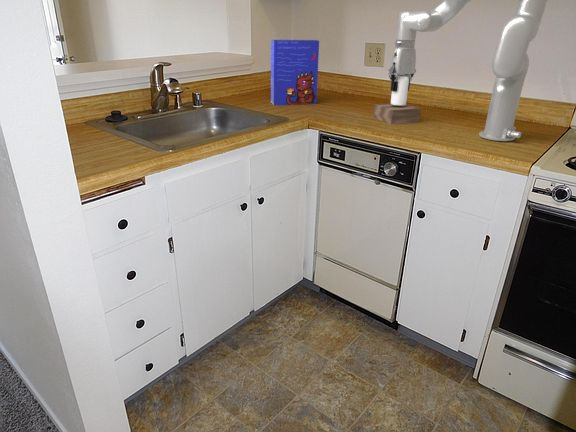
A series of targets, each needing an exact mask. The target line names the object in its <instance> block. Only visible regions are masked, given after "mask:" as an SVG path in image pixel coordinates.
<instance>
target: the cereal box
mask: <svg viewBox="0 0 576 432" xmlns="http://www.w3.org/2000/svg"><path fill="white" fill-rule="evenodd" d="M319 49H320V41H319V40H318V39H271V40H270V104H271V103H272V104H273V105H278V106H295V105H297V106H299V105H300V106H301V105H316V104H317V100H318V99H317V95H318V74H319V55H320V53H319V52H320V51H319ZM272 104H271V105H272ZM273 105H272V106H273Z"/></svg>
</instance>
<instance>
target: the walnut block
mask: <svg viewBox="0 0 576 432" xmlns="http://www.w3.org/2000/svg"><path fill="white" fill-rule="evenodd" d="M421 113H422V108H420V107H417V106H414V105H411V104H407V103H406V105H405V106H394V105H391V103H378V104H377V103H375V104H374V106H373V117H372V118H373V119H376V120H379V121H381V122H384V123H386V124H389V125H397V124H398V125H399V124H401V125H402V124H415V123H420V120H421Z"/></svg>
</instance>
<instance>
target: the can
mask: <svg viewBox="0 0 576 432" xmlns="http://www.w3.org/2000/svg"><path fill="white" fill-rule="evenodd" d="M395 77H396V75H395ZM397 82H398V88H397V91H396V92H395V91H391V98H390V104H391V105H394V106H405V105H406V104H407V102H408V101H407V99H408V98H407V97H408V93H409V90H408V85H409V78H408V75H399V77H398V80H397Z"/></svg>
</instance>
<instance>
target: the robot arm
mask: <svg viewBox="0 0 576 432" xmlns="http://www.w3.org/2000/svg"><path fill="white" fill-rule="evenodd" d="M469 2H472V0H443V1H442V2H441V3H440V4H438V5H437V6H436V7H435V8H433V9H432V10H419V11H418V10H417V11H414V10H404V11H400V12H399V13H398V20H397V28H396V29H397V30H396V39H395V42H394V45H395V47H394V50H393V54H392V56H391V57H392V58H391V62H390V63H391V64H390V68H389V69H388V71H387V72H386V73H387V76H388V78H389V79H390V82H391V83H390V91H391V92H392V91H395V92H396V91H397V88H398V82H397V80H398V77H399V75H408V78H409V85H408V91H409V90H410V86H411V81H412V79H413V77H414V75H415V74H416V72H417V69H416V62H417V61H416V60H417V56H416V55H417V53H416V52H417V50H416V48H415V45H416V36H417V32H421V33H428V32H430V33H431V32H436V31H437V30H439V29H440V28H442V27H443V26H444V25H446V24H447V23H448V22H450V21H451V20H452V19H453V18H454V17H456V15H457V14H459V12H460V11H461V10H462V9H463V8H464V7H465V6H466V5H467V4H468V3H469ZM547 3H548V0H518V3H517V7H516V10H515V12H514V15H513V16H512V17H510V18H509V19H508V20H507V21H506V22H505V23H504V25H503V27H502V30H501V32H500V35H499V38H498V42H497V44H496V45H497V46H496V48H495V52H494V55H493V58H492V63H491V68H492V72H493V74H494V75H495V80H494V84H493V88H492V92H491V97H490V102H489V106H488V110H487V116H486V120H485V126H484V130H481V131H479V134H478V136H479V137H480V138H483V139H485V140H490V141H496V142H497V141H498V142H512V141H514V140H515V139H519V138H521V136H522V132H521V131H516V128H517V127H516V126H514V124H515V120H516V115H517V111H518V109H519V108H518V107H519V104H520V98H521V94H522V91H523V87H524V82H525V80H526V77H527V73H528V70H529V67H530V66H529V65H530V58H529V54H528V53H527V51H528V48H529V46H530V43H531V42H533V40H534V39H536V37H537V35H538V32H539V28H540V24H541V22H542V20H543V15H544V13H545V10H546V6H547ZM395 75H396V77H395Z"/></svg>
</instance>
